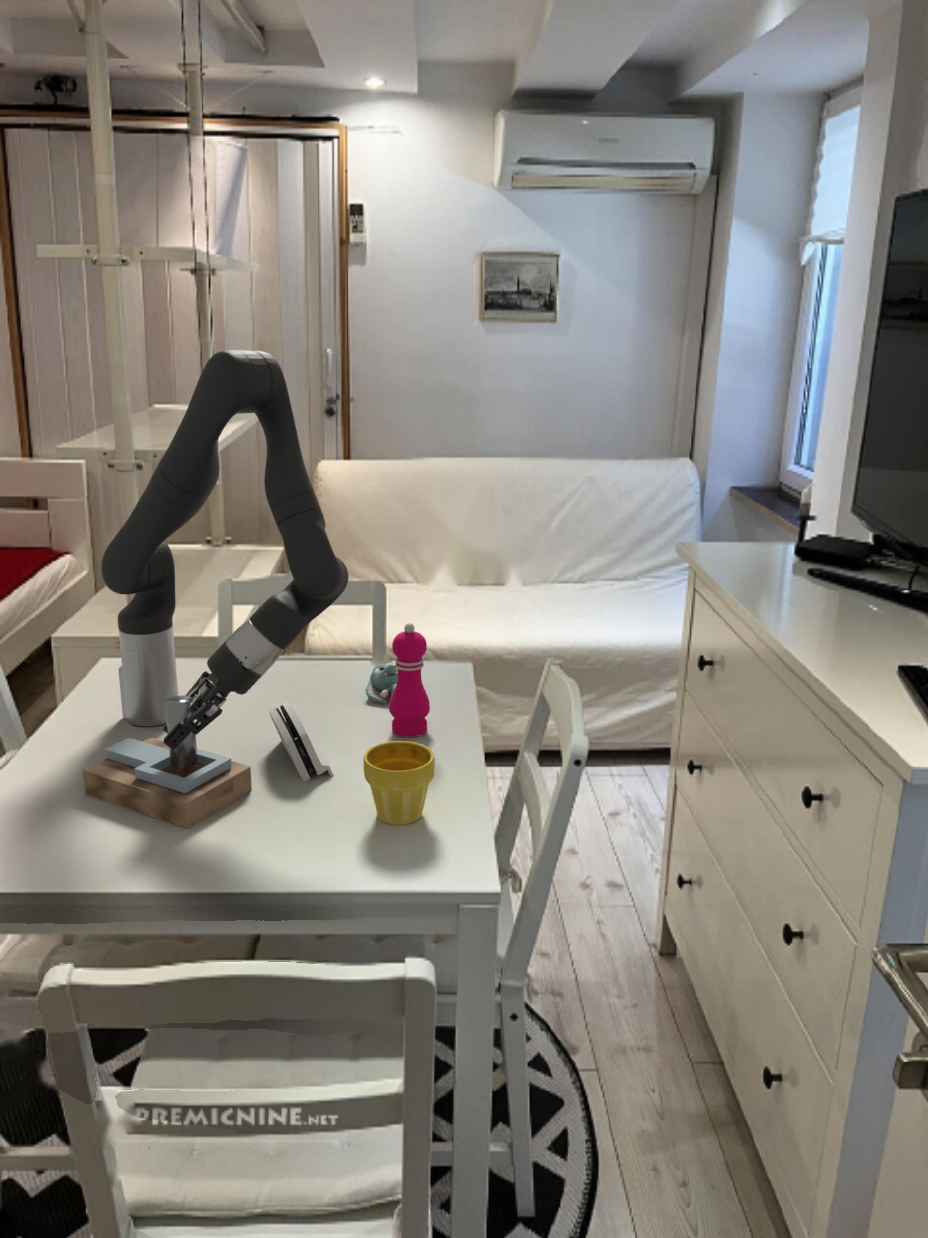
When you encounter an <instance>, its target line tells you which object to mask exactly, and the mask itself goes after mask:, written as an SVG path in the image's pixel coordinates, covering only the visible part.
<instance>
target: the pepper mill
mask: <svg viewBox="0 0 928 1238" xmlns="http://www.w3.org/2000/svg"><path fill="white" fill-rule="evenodd" d="M391 643H392V645H391V646H392V647H391V648H392V649H391V651H392V652H393V654H394V656H395V657H396V658H395V659H394V661H395V664H394V665H395V666H396V668H398V681H397V685H396V688H395V690H394V692H393V694H392V696H391V695H390V699H389V703H388V704H389V705H388V710H389V713H390V715H391V716H392V717H393V719H392V720H391V731H392V732H393V734H395V735H397V736H399V737H405V738H415V737H421V736H423V735H424V734H426V732H427V730H428V719H426V718H427V716H428V715H429V714H430V711H431V703H430V700H429V696H428V694H427V692H426V689H425V686H424V684H423V681H422V669H423V667H425V663H424V661H425V659H424V657H423V656H424V655H425V654H426V652H427V649H428V646H427V640H426V638H425V637H424V636H423V634H421V633H420V632H418V631H415V625H414V624H413V623H411V622H407V623H405V625H404V631H401V632H399V633H397V634H396V635H395V637H393V640H392V642H391Z"/></svg>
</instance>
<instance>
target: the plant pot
mask: <svg viewBox="0 0 928 1238" xmlns="http://www.w3.org/2000/svg"><path fill="white" fill-rule="evenodd" d="M435 761H436V760H435V754H434V751H433V750H432V749H431V748H430V747H428V746H427V745H425V744H422V743H419V742H415V741H407V740H396V741H395V740H393V741H386V742H382V743H377V744H376V745H374V746H371V747H370V748H368V750H366V751H365V753H364V755H363V774H364V775H363V776H364V778H365V781H366V782H367V783H368V784H369V786H370V787H369V788H370V790H371V794H372V799H373V801H374V806H375V807H374V808H375V810H376V815H377V817H378V819H379V820H380V821H381V822H383V823H385V824H388V825H394V826H403V825H409V824H412V823H414V822H416V821H418V820H419V819H420V818H421V816H422V815H423V811H424V807H425V803H426V797H427V793H428V789H429V785H430V783H431V782H432V780H433V779H434V777H435V765H436V764H435Z"/></svg>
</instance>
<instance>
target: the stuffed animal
mask: <svg viewBox="0 0 928 1238" xmlns="http://www.w3.org/2000/svg"><path fill="white" fill-rule="evenodd" d="M397 681H398V668H396V666H395V664H394V663H391V662H389V663H386V664H377V665H375V666H374V667H373V669H372V672H371V674H370V676H369V681H368V683H367V686H366V688H365V694H366V696H367V697H368V699H369V700H371V701H373V702H375V703H376V702H377V704H385V703H386V702H387V701H388V700H389V698H388V696H390V697H391V696H392V694H393V692H394V690H395V688H396V685H397ZM388 694H390V695H388Z"/></svg>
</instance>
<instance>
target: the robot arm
mask: <svg viewBox="0 0 928 1238" xmlns="http://www.w3.org/2000/svg"><path fill="white" fill-rule="evenodd" d="M237 414H255V416H256V417H257V419H258V421H259V424H260V426H261V428H262V430H263V433H264V437H265V441H266V442H265V443H266V459H265V460H266V461H265V467H264V479H263V480H264V483H263V485H264V492H265V497H266V500H267V504H268V507H269V509H270V511H271V514H272V516H273V519H274V522H275V523H276V527H277V529H278V532H279V533H280V536H281V539H282V541H283V546H284V551H285V555H286V559H287V563H288V568H289V570H290V573H291V576H292V578H293V579H292V581H290V583H289V584H288V585H287V586H285V588H284V589H283V590H281V591H280V592H277V593H275V594H272V595H271V596H270V597H269V598H267V599H266V600H265V601H264V602H263V603H262V604H260V606H259V607H258V608H257V609H256V610H255V612H254V613H253V614H251V616H250V617H249V618H248V619H247V620H245V622H243V623H242V624H241V625H239V626H238V627H237V628H236V629H235V630H234V632H232V634H231V635H230V636H229V637H228V638H227V639H226V640H225V641H224V642H223V643H222V644H221V645H220V646H219V647H218V648H217V649H216V650H215V651H214V653H212V654H211V656H210V657H209V658H207V661H206V664H207V668H208V669H209V671H210V672H211V673H210V672H208V671H207V670H205V671H203V672H202V673H201V675H200V677H199V678H198V679H197V680H196V681H195V683H194V684H193V685H192V687H191V688H189V690H188V691H187V692H186V694H185V695H184V696H190V697H192V698H193V701H192V702H191V703H190V704H189V705H188V712H187V713H186V714H185V716H184V717H183V718H182V719H181V720H180V722H179V723H178V724H177V725H176V726H175V727H174V728H173V729H172V730H171V731H170V732H169V733H168V730H167V718H166V706H165V701H166V700H167V699H168V698H170V697H174V696H179V687H178V676H177V673H178V672H177V662H176V661H177V660H176V650H175V635H174V625H173V624H174V623H173V618H174V614H175V610H176V603H177V602H176V599H177V598H176V566H175V560H174V556H173V552H172V550H171V548H170V545H169V544H168V543H167V541H166V540H167V539H168V538H169V537H171V536H172V535H173V534H174V533H176V532H177V531H178V530H179V529H181V528H182V527H184V526H185V524H187V523H188V522H190V520H191V519H193V518H194V517H195V516H196V515H197V514H198V513H199V511H200V510H201V509H202V508H203V507H204V505H205V504H206V502H207V501H208V499H209V497H210V496H211V493H212V492H213V491H214V489H215V488H216V487H215V486H216V485H217V483H218V480H219V479H220V478H219V477H220V467H221V466H220V459H219V457H220V456H219V452H218V446H217V445H218V442H219V439H220V437H221V435H222V433H223V431H224V430H225V428H226V426H227V425H228V423H229V422H230V421H231V419H232V418H233V417H234V416H236V415H237ZM305 465H306V464H305V462H304V457H303V453H302V449H301V444H300V440H299V436H298V431H297V425H296V420H295V416H294V412H293V409H292V403H291V399H290V394H289V390H288V385H287V381H286V379H285V376H284V372H283V370H282V367H281V366H280V364H279V361H277V359H276V358H275V357H274V356H273V355H272V354H270V353H268V352H266V351H261V350H251V349H250V350H249V349H248V350H247V349H245V350H244V349H225V350H220V351H218V352H215V353H214V354H213V355H212V356H211V357H210V358H209V359H208V361H207V362H206V364H205V365H204V367H203V370H202V371H201V374H200V375H199V378H198V380H197V383H196V386H195V388H194V390H193V393H192V396H191V399H190V401H189V403H188V406H187V408H186V411H185V414H184V416H183V418H182V420H181V422H180V423H179V426H178V427H177V429H176V432H175V433H174V436H173V438H172V440H171V441H170V443H169V445H168V447H167V449H166V451H165V452H164V454H163V455H162V457H161V459H160V460H159V462H158V464H157V466H156V468H155V469H154V472H153V473H152V475H151V477H150V480H149V481H148V483H147V486H146V487H145V489H144V491H143V493H142V495H141V496H140V498H139V499H138V501H137V503H136V504H135V507H134V508H133V509H132V511H131V513H130V514H129V517H128V518H127V520H126V521H125V522H124V523H123V525H122V527H121V528H120V530H118V532H116V535H114V537H113V539H112V540H110V543H109V544H108V545H107V547H106V549H105V550H104V553H103V556H102V560H101V567H100V569H101V576H102V580H103V582H104V585H106V587H107V588H108V589H109V590H110V591H112V592H114V593H115V594H119V595H134V596H133V598H132V600H131V601H130V602H129V603H127V605H126V606H124V607H123V608H122V609H121V610H120V611H119V613H118V615H117V628H118V636H119V637H118V638H119V648H120V657H121V666H119V667H118V679H119V691H120V700H121V711H122V717H123V718H125V719H126V721H127V722H128V723H129V724H132V725H135V726H139V727H154V726H161V725H163V732H165V733H166V735H165V737H164V738H163V741H164V744H166V745H167V746H168V747H170V748H171V749H176V748H177V747H178V746H179V745H180V743H181V742H182V741H183V740H184V739H185V738H186V737H187V736H188V735H189V734H190V733H191V732H192V733H194V734H195V735H196V736H197V735H199V733H200V732H201V731H203V730H204V729H205V728H207V726H208V725H210V724H211V723H212V722H213V721H215V719H217V718H218V717H219V716H221V714H222V713H223V709H222V706H223V705H224V704H225V703H226V702H227V697H228V696H229V694H230V693H231V692H232V693H236V694H238V695H245V694H247V693H248V692H249V691H250V690H251V689H252V687H253V686H254V685H255V684H256V683H257V682H258V681H259V680H260V679H261V678H262V677H263V676H264V675H265V674H266V673H267V671H269V669H270V668H271V667H273V665H274V664H275V663H276V661H278V659H279V658H280V656H281V655H282V653H284V651H285V650H286V649H287V648H288V647H289V646H290V645H291V644H292V643H293V642H294V641H295V639H296V638H297V637H298V636H299V635H300V634H301V633H302V631H303V630H304V629H305V628H306V627H307V626H308V625H309V624H310V623H311V622H312V621H314V620H315V619H316V618H317V617H319V616H320V615H321V614H322V613H323V612H324V611H326V610H327V609H328V608H329V607H330V606H331V605H332V604H334V603H335V602H336V601H337V599H339V597H341V595H342V594H343V593H344V591H345V590H346V588H347V586H348V583H349V571H348V568H347V566H346V564H345V563H344V561H343V560H342V559H340V558H339V557H337V556H336V555H335V552H334V551H333V550H334V549H333V547H332V545H331V543H330V540H329V537H328V534H327V531H326V520H325V516H324V513H323V510H322V508H321V506H320V503H319V500H318V498H317V495H316V493H315V491H314V487H313V485H312V482H311V479H310V476H309V473H308V471H307V467H306V466H305ZM194 720H195V723H194V722H192V721H194Z"/></svg>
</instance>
